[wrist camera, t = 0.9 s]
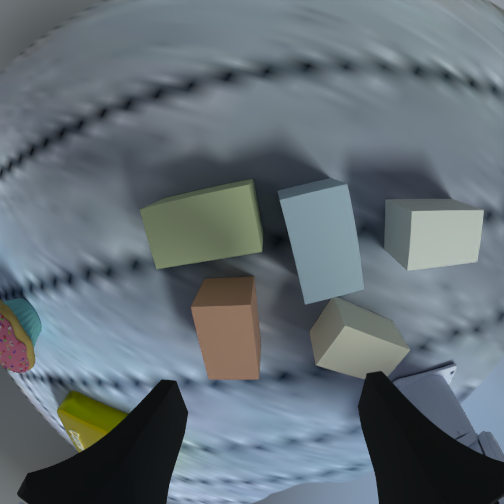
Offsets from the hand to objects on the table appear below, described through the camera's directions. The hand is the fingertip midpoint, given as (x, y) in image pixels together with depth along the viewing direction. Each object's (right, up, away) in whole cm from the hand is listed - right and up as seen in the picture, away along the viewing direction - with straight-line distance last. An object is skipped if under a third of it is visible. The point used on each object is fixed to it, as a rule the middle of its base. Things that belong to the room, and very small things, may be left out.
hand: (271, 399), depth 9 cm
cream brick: (+7, 0, +11) cm, 13 cm away
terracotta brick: (-2, +1, +11) cm, 11 cm away
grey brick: (+11, +8, +8) cm, 16 cm away
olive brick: (-3, +8, +9) cm, 12 cm away
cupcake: (-26, -2, +13) cm, 29 cm away
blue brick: (+3, +7, +8) cm, 12 cm away
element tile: (-19, -20, +20) cm, 34 cm away
